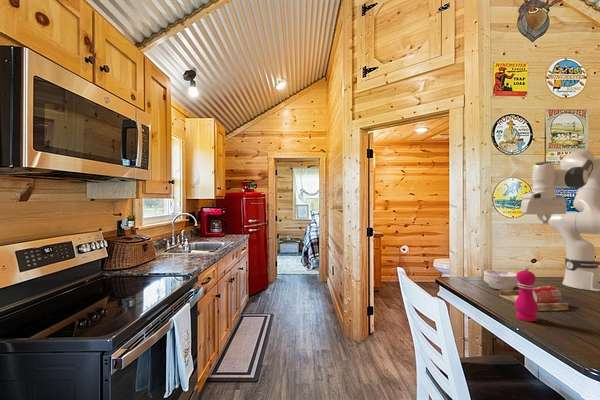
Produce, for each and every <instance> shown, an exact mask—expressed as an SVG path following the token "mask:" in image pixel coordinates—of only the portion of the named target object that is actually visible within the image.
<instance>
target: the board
mask: <svg viewBox="0 0 600 400" xmlns="http://www.w3.org/2000/svg"><path fill="white" fill-rule="evenodd" d="M498 291H499V292H498V295H499V297H502V298H503V299H506V300H509V301H510V302H513V303H515V302H516V299H517V298H518V296H519V289H512V290H498ZM537 306H538V312H539V311H568V310H569V303H567V302H557V303H540V304H537Z"/></svg>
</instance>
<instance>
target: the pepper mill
mask: <svg viewBox="0 0 600 400" xmlns="http://www.w3.org/2000/svg"><path fill="white" fill-rule="evenodd" d="M516 274H517V275H516V278H517V280H518V281H519V283H518V286H517V287H518V290H519V296H518V298H517V299H516V302H514V309H515V310H516V311H517V312H516V315H515V317H516V319H518V320H520V319H521V320H520V321H523V320H524V321H523V322H527V321H531V322H530V323H533V322H532V321H536V322H537V315H536V314H537V313H538V312H539V311H538V306H537V303H536V301H535V299H534V296H533V289H534V287H535V284H534V283H536V282H537V277H536V275H535V273H534V272H531V271H530V270H529V268H528V266H524V267H523V268H522V270H520V271H518V272H517V273H516Z"/></svg>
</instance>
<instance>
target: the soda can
mask: <svg viewBox="0 0 600 400" xmlns="http://www.w3.org/2000/svg"><path fill="white" fill-rule="evenodd" d="M533 296H534V299H535V301H536V303H537V304H540V303H560V302H561V300H562V296H563V295H562V293H561V291H560V289H558V288H557V287H555V286H553V285H547V286H537V287H535V286H534V289H533Z"/></svg>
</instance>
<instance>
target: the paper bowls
mask: <svg viewBox="0 0 600 400" xmlns="http://www.w3.org/2000/svg"><path fill="white" fill-rule="evenodd" d="M516 275H517V273H515V272H512V271H511V272H510V271H505V270H494V269H491V270H490V269H488V270H484V271H483V281H484V282H486V283H487V284H488V286H489V287H490V288H492V289H494V290H498V291H499V290H514V288H515V287H518V283H519V281H518V280H517V278H516Z"/></svg>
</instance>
